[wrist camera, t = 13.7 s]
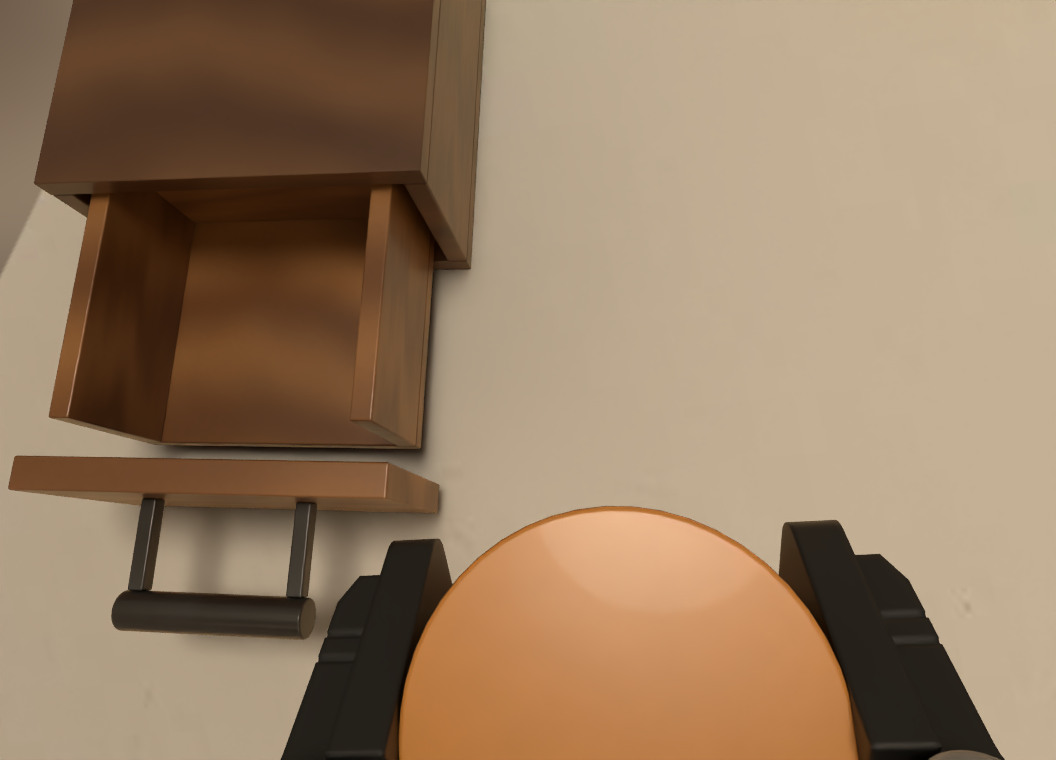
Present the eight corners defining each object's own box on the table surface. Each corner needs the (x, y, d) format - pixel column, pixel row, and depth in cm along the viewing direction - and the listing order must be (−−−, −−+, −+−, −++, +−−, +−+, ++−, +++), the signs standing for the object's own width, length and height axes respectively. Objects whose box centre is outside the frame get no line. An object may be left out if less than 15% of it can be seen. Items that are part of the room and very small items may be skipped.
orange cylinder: (633, 855, 15) (647, 1138, 7) (449, 663, 16) (307, 745, 9) (799, 652, 15) (964, 731, 8) (607, 484, 16) (598, 419, 9)
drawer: (430, 633, 29) (373, 653, 23) (116, 617, 31) (-23, 632, 24) (456, 212, 34) (415, 125, 27) (180, 219, 35) (77, 139, 29)
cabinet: (470, 269, 34) (420, 170, 25) (172, 274, 36) (33, 183, 27) (486, -2, 37) (446, -168, 29) (214, 15, 39) (102, -136, 31)
